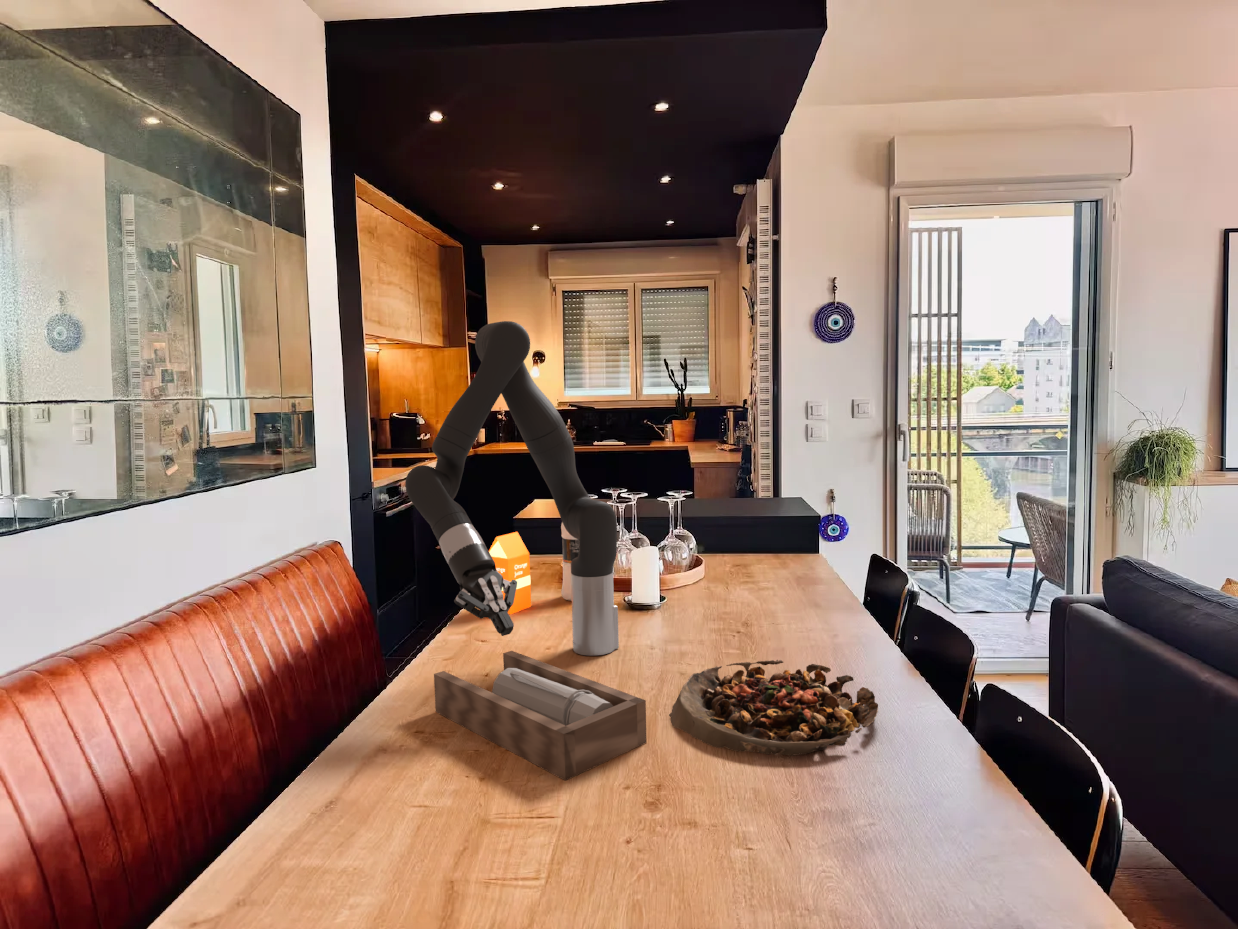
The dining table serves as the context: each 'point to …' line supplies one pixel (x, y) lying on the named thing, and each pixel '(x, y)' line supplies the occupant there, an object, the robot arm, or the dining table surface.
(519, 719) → the bottle rest
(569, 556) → the vodka
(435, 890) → the dining table surface
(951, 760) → the dining table surface
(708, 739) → the food dish
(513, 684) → the water bottle
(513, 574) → the orange juice
